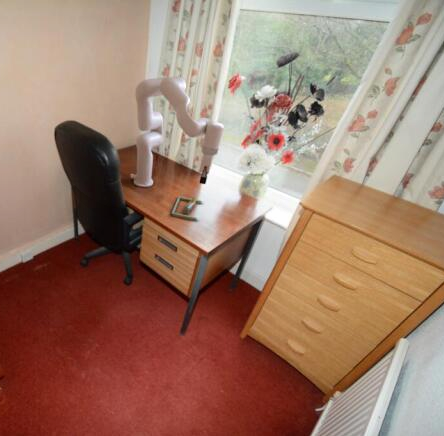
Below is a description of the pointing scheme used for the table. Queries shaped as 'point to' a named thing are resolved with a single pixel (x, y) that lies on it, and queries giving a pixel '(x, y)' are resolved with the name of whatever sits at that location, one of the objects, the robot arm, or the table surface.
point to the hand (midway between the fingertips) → (202, 183)
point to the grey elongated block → (189, 206)
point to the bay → (182, 214)
